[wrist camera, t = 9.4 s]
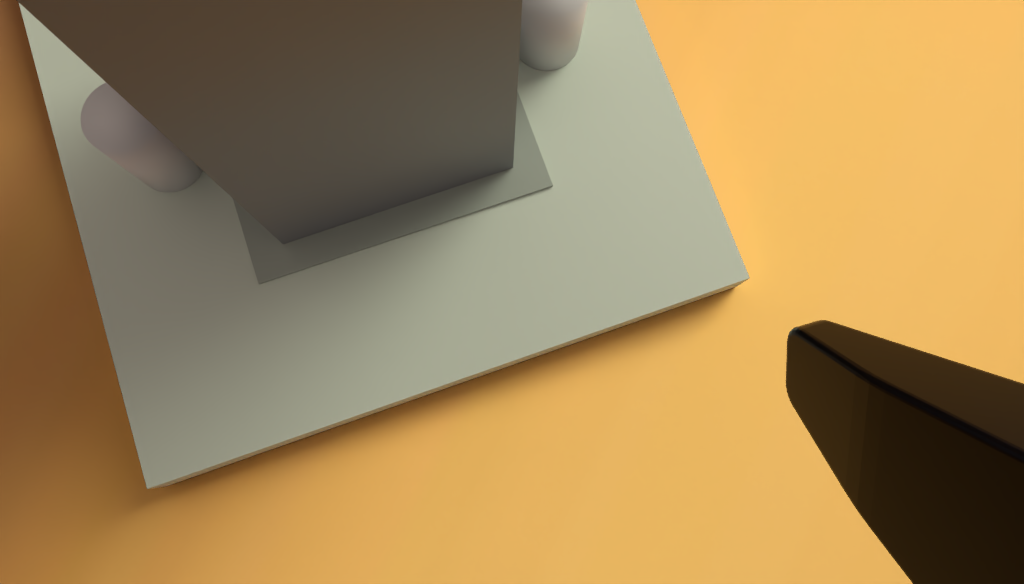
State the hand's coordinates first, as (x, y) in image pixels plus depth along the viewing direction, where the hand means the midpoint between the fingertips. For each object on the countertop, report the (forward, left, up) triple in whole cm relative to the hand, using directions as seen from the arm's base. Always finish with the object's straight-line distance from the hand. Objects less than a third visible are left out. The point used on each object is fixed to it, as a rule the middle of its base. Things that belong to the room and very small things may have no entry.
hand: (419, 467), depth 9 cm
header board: (+6, -6, -10) cm, 13 cm away
